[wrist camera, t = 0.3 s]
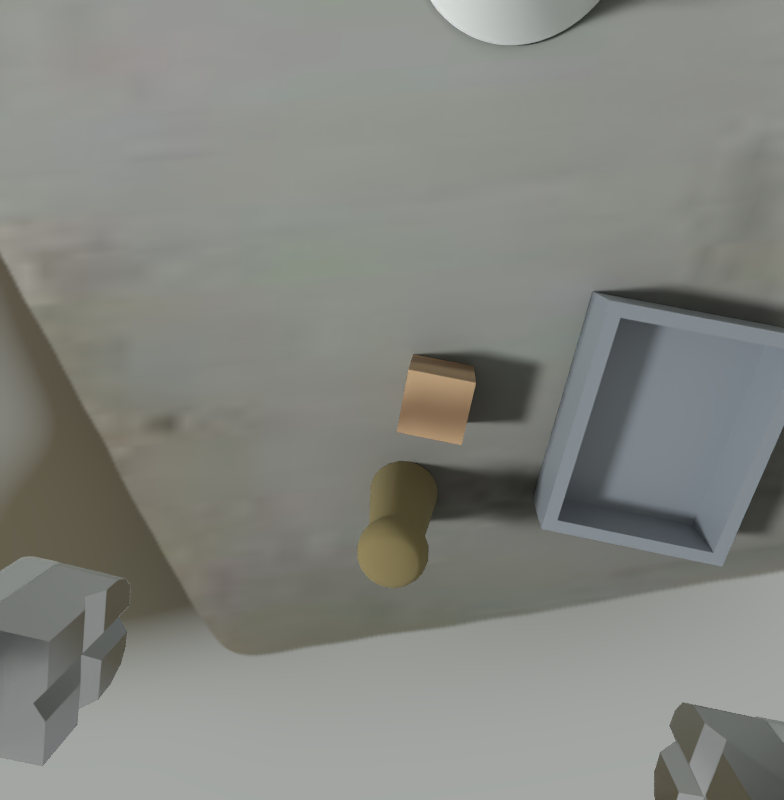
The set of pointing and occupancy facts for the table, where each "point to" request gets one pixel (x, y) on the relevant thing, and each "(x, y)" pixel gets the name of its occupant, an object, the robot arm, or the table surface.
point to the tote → (662, 428)
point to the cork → (398, 524)
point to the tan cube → (437, 399)
